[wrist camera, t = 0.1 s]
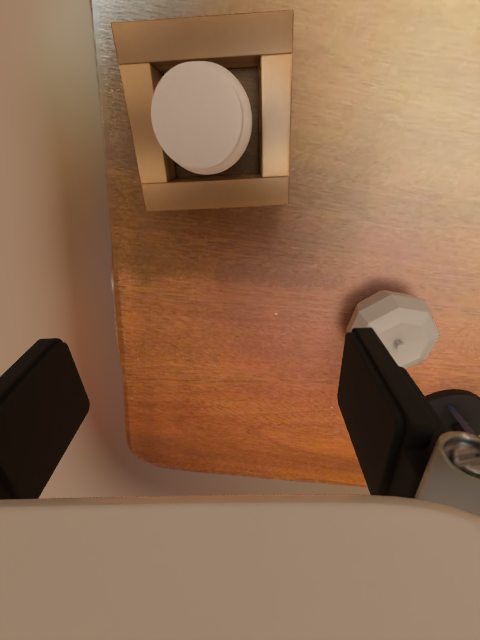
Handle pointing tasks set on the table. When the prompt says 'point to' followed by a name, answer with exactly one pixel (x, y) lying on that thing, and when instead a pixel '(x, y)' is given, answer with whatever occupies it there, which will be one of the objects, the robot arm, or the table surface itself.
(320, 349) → the table surface
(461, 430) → the figurine
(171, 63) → the holder
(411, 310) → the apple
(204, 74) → the pill bottle
